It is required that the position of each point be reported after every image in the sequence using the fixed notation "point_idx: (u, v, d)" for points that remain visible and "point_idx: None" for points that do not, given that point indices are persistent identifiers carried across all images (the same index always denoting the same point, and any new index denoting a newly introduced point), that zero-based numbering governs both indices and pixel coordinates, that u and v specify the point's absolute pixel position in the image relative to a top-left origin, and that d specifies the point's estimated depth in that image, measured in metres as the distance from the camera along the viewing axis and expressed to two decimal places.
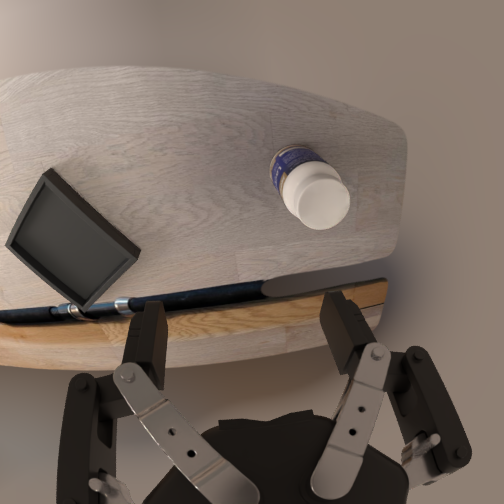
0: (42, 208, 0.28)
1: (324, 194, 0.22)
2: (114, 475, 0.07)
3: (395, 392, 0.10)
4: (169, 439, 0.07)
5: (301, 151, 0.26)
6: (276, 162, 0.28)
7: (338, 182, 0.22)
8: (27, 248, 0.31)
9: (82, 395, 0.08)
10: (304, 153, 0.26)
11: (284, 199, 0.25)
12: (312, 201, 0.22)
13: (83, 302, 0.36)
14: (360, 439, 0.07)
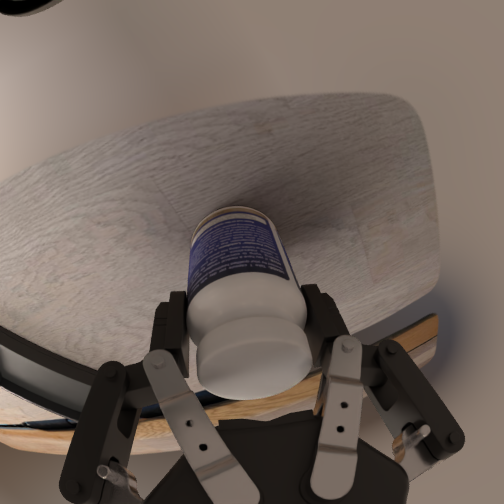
0: (2, 352, 0.22)
1: (244, 365, 0.10)
2: (125, 464, 0.08)
3: (372, 387, 0.11)
4: (185, 429, 0.07)
5: (213, 239, 0.14)
6: (189, 261, 0.16)
7: (263, 341, 0.10)
8: (14, 382, 0.25)
9: (109, 383, 0.09)
10: (215, 246, 0.14)
11: None
12: (227, 378, 0.11)
13: None
14: (349, 435, 0.07)
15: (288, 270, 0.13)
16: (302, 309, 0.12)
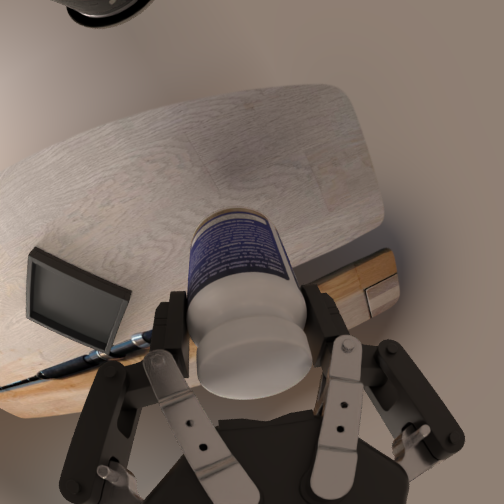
0: (42, 280, 0.33)
1: (244, 365, 0.10)
2: (125, 464, 0.08)
3: (372, 387, 0.11)
4: (185, 429, 0.07)
5: (213, 239, 0.14)
6: None
7: (263, 341, 0.10)
8: (44, 314, 0.36)
9: (109, 382, 0.09)
10: (215, 246, 0.14)
11: None
12: (227, 378, 0.11)
13: (105, 346, 0.40)
14: (349, 434, 0.07)
15: (288, 270, 0.13)
16: (302, 309, 0.12)
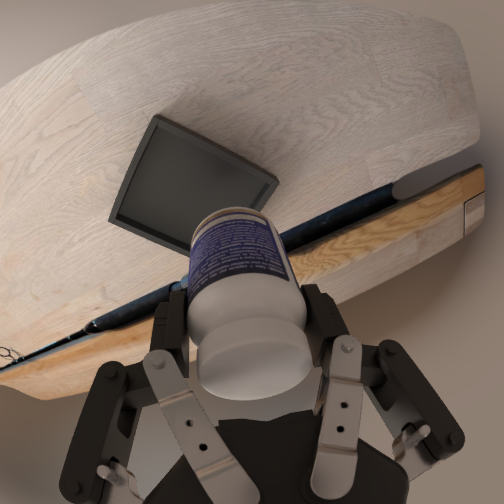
0: (154, 160, 0.30)
1: (244, 366, 0.10)
2: (125, 464, 0.08)
3: (372, 387, 0.11)
4: (185, 429, 0.07)
5: (213, 239, 0.14)
6: None
7: (263, 342, 0.10)
8: (136, 216, 0.33)
9: (109, 382, 0.09)
10: (215, 246, 0.14)
11: None
12: (227, 378, 0.11)
13: None
14: (349, 435, 0.07)
15: (288, 271, 0.13)
16: (302, 310, 0.12)
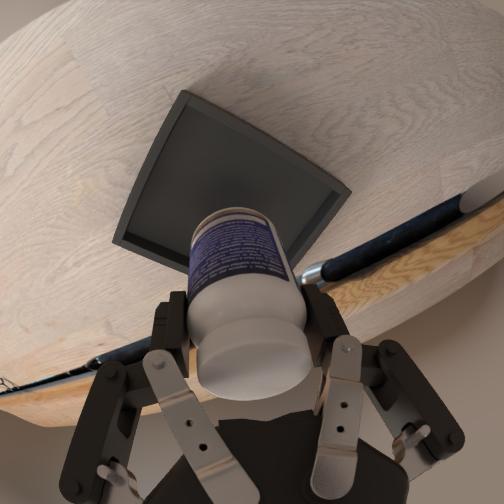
0: (178, 156, 0.21)
1: (244, 366, 0.10)
2: (125, 464, 0.08)
3: (372, 387, 0.11)
4: (185, 429, 0.07)
5: (213, 240, 0.14)
6: (189, 262, 0.16)
7: (263, 343, 0.10)
8: (151, 235, 0.24)
9: (109, 383, 0.09)
10: (215, 247, 0.14)
11: None
12: (227, 379, 0.11)
13: None
14: (349, 435, 0.07)
15: (288, 271, 0.13)
16: (302, 310, 0.12)
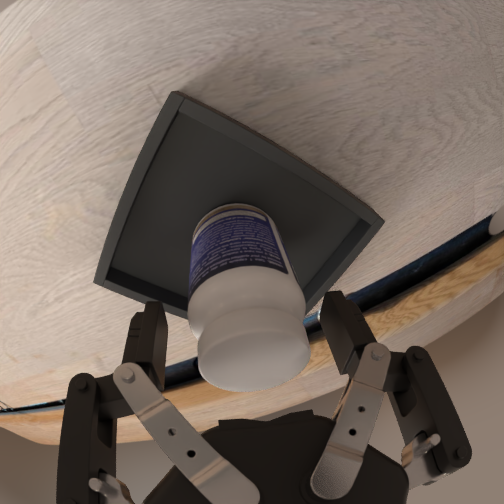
0: (170, 177, 0.16)
1: (244, 356, 0.11)
2: (114, 475, 0.07)
3: (395, 392, 0.10)
4: (169, 439, 0.07)
5: (214, 235, 0.15)
6: None
7: (262, 332, 0.10)
8: (141, 273, 0.20)
9: (82, 395, 0.08)
10: (216, 241, 0.14)
11: None
12: (227, 369, 0.11)
13: None
14: (360, 439, 0.07)
15: (287, 265, 0.14)
16: (301, 302, 0.13)
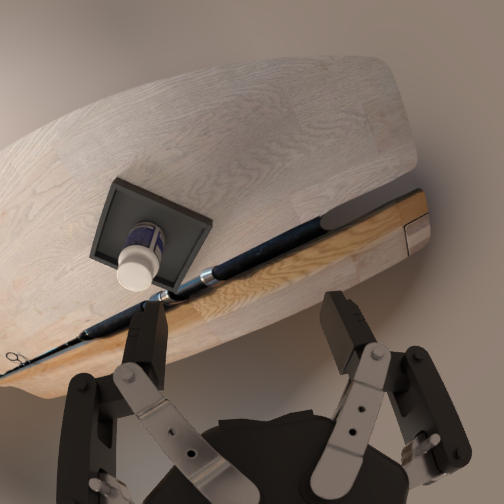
0: (118, 212, 0.39)
1: (128, 272, 0.33)
2: (114, 475, 0.07)
3: (395, 392, 0.10)
4: (169, 439, 0.07)
5: (130, 235, 0.37)
6: None
7: (131, 263, 0.32)
8: (110, 253, 0.42)
9: (82, 395, 0.08)
10: (130, 237, 0.37)
11: None
12: (125, 278, 0.34)
13: (172, 284, 0.46)
14: (360, 439, 0.07)
15: (151, 245, 0.36)
16: (153, 258, 0.35)
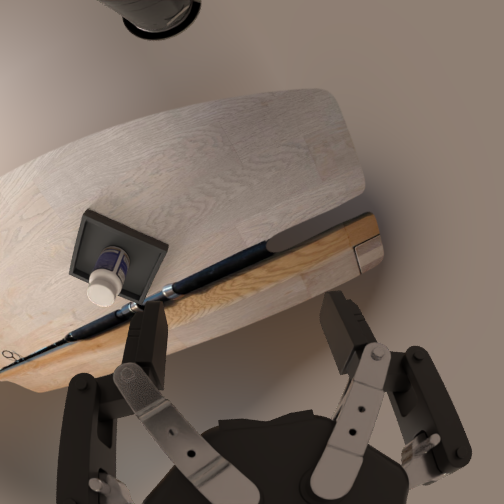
0: (90, 237, 0.44)
1: (96, 292, 0.39)
2: (114, 475, 0.07)
3: (395, 392, 0.10)
4: (169, 439, 0.07)
5: (99, 258, 0.43)
6: None
7: (97, 284, 0.38)
8: (86, 270, 0.48)
9: (82, 395, 0.08)
10: (98, 261, 0.42)
11: None
12: (94, 296, 0.39)
13: (138, 297, 0.52)
14: (360, 439, 0.07)
15: (115, 268, 0.42)
16: (115, 280, 0.41)
